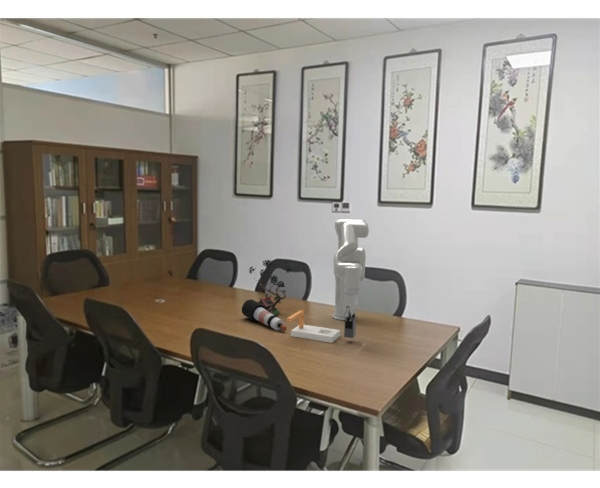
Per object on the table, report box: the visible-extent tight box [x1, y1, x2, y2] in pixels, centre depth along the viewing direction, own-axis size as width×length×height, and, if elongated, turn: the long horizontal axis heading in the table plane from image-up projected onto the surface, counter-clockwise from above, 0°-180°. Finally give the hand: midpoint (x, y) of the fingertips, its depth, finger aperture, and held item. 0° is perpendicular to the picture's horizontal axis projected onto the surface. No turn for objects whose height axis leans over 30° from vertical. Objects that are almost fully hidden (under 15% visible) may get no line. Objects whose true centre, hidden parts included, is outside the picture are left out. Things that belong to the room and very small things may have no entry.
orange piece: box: [286, 309, 305, 328], centre depth 233 cm, size 17×2×9 cm, turn 157°
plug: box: [343, 315, 357, 339], centre depth 229 cm, size 4×4×10 cm
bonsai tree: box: [248, 259, 293, 316], centre depth 284 cm, size 35×24×32 cm
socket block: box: [290, 324, 341, 344], centre depth 237 cm, size 12×22×4 cm, turn 67°
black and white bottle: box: [241, 299, 287, 332], centre depth 257 cm, size 10×34×10 cm, turn 37°
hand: (350, 326), depth 229 cm, fingers closed on plug, 4 cm apart
